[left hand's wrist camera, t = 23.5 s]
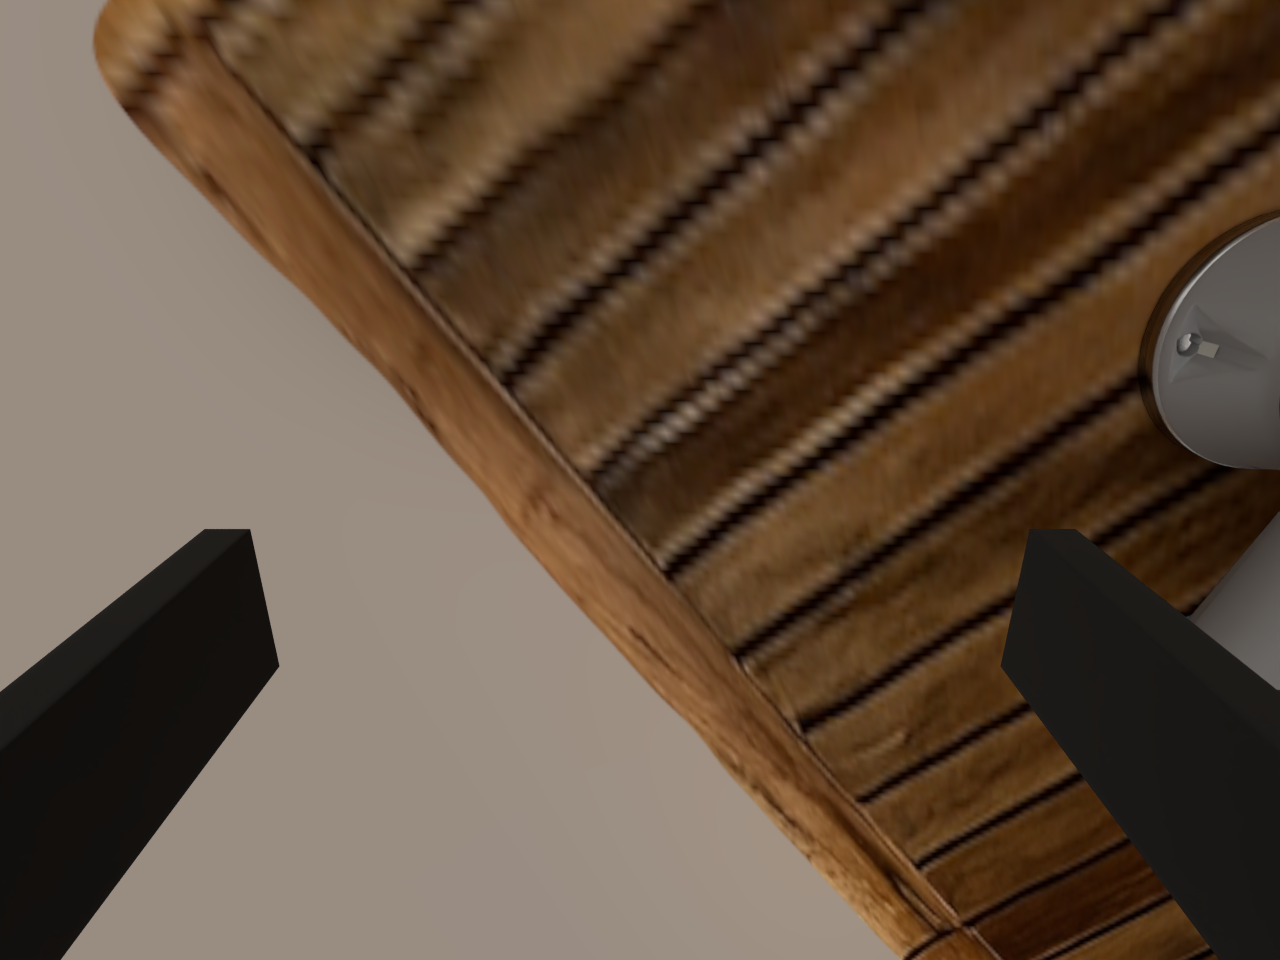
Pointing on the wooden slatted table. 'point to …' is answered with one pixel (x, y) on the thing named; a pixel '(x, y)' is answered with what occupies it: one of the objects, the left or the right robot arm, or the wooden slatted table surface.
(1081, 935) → the wooden slatted table surface
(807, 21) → the wooden slatted table surface
